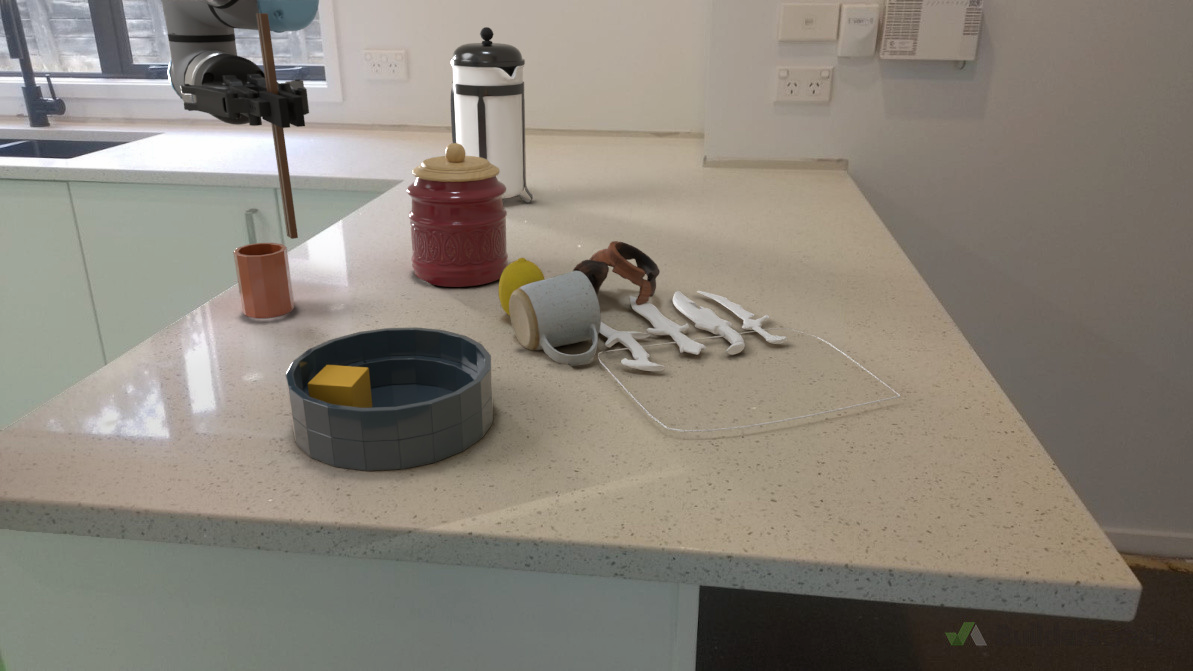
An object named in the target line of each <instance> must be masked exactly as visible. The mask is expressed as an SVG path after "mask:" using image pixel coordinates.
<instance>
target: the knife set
mask: <svg viewBox="0 0 1193 671" xmlns="http://www.w3.org/2000/svg"><path fill="white" fill-rule="evenodd" d="M696 293H698V294H700V295H702V296H705V297H706V298H709V299H711V300H713V301H715V302H717V303H719V304H720V305H721V306H723V307H725V308H726V309H728V310H729V311H731V312H732V313H733V314H734V315H736V317H738V318H739V319H741V320H742V321H743V323H742V326H741V329H742V330H747V331H743V332H738V331H737V330H735V329H734V328H732V326H733V323H732V322H731V321H728V320H726V319H723V318H721V317H719V316H718V315H717V313H716V312H715V310H712V309H711V308H710V307H704V306H698V304H697V302H695V301H693V300H692V299H690V298H689V297H688V296H686V295H685V294H683V293H682V292H681V290H675V291H674V294H673V297H672V303H673V305H674V307H675V308H676V309H677V310H678V311H679V312H680V313H681V314H682V315H684V316H685V317H686V318H688V319H689V320H690V321H692V322H693V323H694V327H695V328H696V329H699V330H702V331H706V332H709V333H711V334H714V336H707V337H701V338H693V339H691V338H690V337H688V336H687V335H685V334H684V333H685V332H686V331H687V330H689V328H690V324H689V323H688V322H686V323H685V324H683V325H682V324H678V323H676V322H675V321H673V320H671V319H669V318H668V317H666V316H664V315H663V314H662V313H661V311H660V310H659V308H657V306H656V305H654V304H653V303H650V302H649V301H648V302H646V303H644V304H641V305H637V304H636V299H637V297H635V296H632V295H630V296H629V303H630V306H631V309H632V310H633V311H634V312H636V313H637V314H638V315H640V316H642V317H643V318H644V319H646V320H647V321H649V323H650V324H651V325H652V327H648V328H647V329H646V330H645V331H646V332H640V331H635V330H633V331H632V330H627V331H626V330H620V331H619V330H617V329H614V328H612V327H610V326H608V325H607V324H606V323H604V322H603V321H601V325H600V330H599V334H600V335H602V336H603V337H605V338H606V341H605V343H604V345H605V347H606V348H612V346H614V345H615V344H617V343H620V344H622V345H623V346H624V348H617V349H610V350H606V351H604V353H608V352H609V353H610V352H618V351H623V350H629V351H630V352H631V355H632V358H633V359H629V358H627V357H624V358H622V359H621V360H620V363H621V364H622V366H625V367H628V368H631V369H634V370H639V371H645V372H662V371H663V370H665V368H666V366H665V365H663V364H659V363H657V362H652V361H650V360H649V357H650V356H651V355H650V354H649V353H648V352H647V351H646V349H645V348H648V347H656V346H663V345H674V344H676V345H677V346H678V347H679V352H680V354H683V353H688V354H692V355H697V356H699V355H700V353H701V351H705V350H706V349H707V346H706V345H705V344H703V343H700V342H697V341H702V340H709V339H710V340H711V339H717V338H723V339H725V340H726V341H727V342H729V343H730V346H728V348H727V349H726V350H725V352H726V353H727V354H728V355H731V356H734V355H736V354H739V353H741V352H742V351H743V350H744V349H745V347H746V343H745V340H744V338H743V336H742V335H743V334H750V333H755V332H756V333H758V334H759V335H760V336H762V337H763V338H764V339H765V341H766V342H767V343H770V344H773V345H775V344H776V345H779V344H782V343H783V344H784V342H786V341H787V340H788V336H782V335H772V334H771V333H769V332H768V331H771V330H785V331H793V332H798V333H803V334H804V332H803V331H800V330H796V329H793V328H788V327H772V328H762V326H763V324H762V323H763V322H765V321H767V320H769V319H770V315H768V314H765V315H764V316H762V317H759V318H755V319H753V317H755V313H752V312H750V311H748V310H746V309H745V308H743V307H742V305H741V304H738V303H735V302H733V301H731V300H729V299H728V298H727V297H726V296H722V295H718V294H715V293H711V292H708V291H703V290H697V291H696ZM698 307H699V308H698ZM651 335H652V336H653V335H654V336H670V337H671V338H672V340H673V341H671V342H664V343H663V342H662V343H656V344H655V343H653V344H647V345H641V344H640V343H639V342H638V341H637V340H636V339H641V340H642V339H646V338H649V337H650V336H651ZM805 335H809V336H811V337H814V338H816V339H818V340H820V341H822V342H823V343H824V344H825V343H826V344H827V345H829V346H830V347H831V348H833V349H835V350H836V351H838V352H839V353H840V354H842V355H844V356H845V357H846V358H848V360H850V361H852V362H853V363H854V364H856V365H857V366H858V367H860V368H861V369H863V370H864V371H865V372H866V373H868V374H869V375H870V376H872V377H873V378H875V379H876V380H877V381H878V382H880V383H881V384H882V385H884V386H885V387H886V388H888V389H889V390H890V391H892V392H893V393H894V394H895V396H891V397H887V398H882V399H878V400H872V401H867V402H863V403H858V404H854V405H849V406H845V407H844V406H843V407H840V408H835V409H829V410H826V411H821V412H816V413H811V414H806V415H800V416H795V417H790V418H785V419H780V420H775V421H774V420H773V421H767V422H761V423H755V424H749V425H741V426H731V427H722V428H721V427H720V428H712V429H679V428H672V427H668V426H666V425H665V424H664V423H662V422H661V421H660V420H659V419H657V418H656V417H654V416H653V415H652V414H651V412H649V411H648V410H647V409H646V408H645V407H644V405H642V404H641V403H640V402H639V400H638V399H636V397H635V396H634V395H633V394H632V393H631V392H630V391H629V390H628V389H627V388H626V386H624V385H623V383H622V382H620V380H619V379H618V378H617V377H616V376H615V375H614V374H613V372H612V371H611V370H610V369H609V368H608V367H607V366H606V364H604V362H603V361H602V360H601V359H600V354H602V353H603V351H599V352H598V354H597V359H598V361H599V363H600V364H601V365H602V367H603V368H604V369H605V370H606V371H607V372H608V373H609V374H610V375H611V377H613V378H614V380H615V381H616V382H617V383H618V384H619V385H620V387H622V388H623V390H624V391H625V392H626V393H627V394H628V395H629V397H631V399H632V400H634V402H636V404H638V406H640V408H641V409H642V410H643V412H645V413H646V414H647V415H648V416H649V417H650V418H651V419H652V420H654V421H655V422H656V423H657V424H659V425H660V426H662V427H664V428H665V429H666V430H669V431H674V432H680V433H705V432H707V433H708V432H720V431H729V430H739V429H747V428H753V427H761V426H766V425H772V424H779V423H784V422H789V421H794V420H799V419H805V418H810V417H815V416H819V415H824V414H828V413H833V412H834V413H835V412H838V411H843V410H848V409H853V408H857V407H862V406H867V405H871V404H875V403H876V404H877V403H880V402H881V403H882V402H886V401H889V400H894V399H899V398H901V394H899V393H898V392H897V391H896V390H894V389H893V388H892V387H890V386H889V385H888V384H886V383H885V382H884V381H883V380H881V379H880V378H878V377H877V376H876V375H875V374H873V373H872V372H871V371H869V370H868V369H867V368H865V367H864V366H863V365H861V364H860V363H859V362H857V361H855V360H854V359H853V358H851V357H850V356H849V355H848V354H846V353H844V352H843V351H841V349H839V348H837V347H836V346H835V345H833V344H832V343H830V342H828V341H826V340H825V339H823V338H820V337H818V336H816V335H813V334H810V333H807V332H805Z"/></svg>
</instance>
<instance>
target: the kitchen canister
mask: <svg viewBox="0 0 1193 671" xmlns="http://www.w3.org/2000/svg"><path fill="white" fill-rule="evenodd" d="M465 155H466V153H465V149H464V147H463V146H462V145H461V144H458V143H453V142H452V143H449V144H448V145H447V146H446V147H445V151H444V155H442V156H433V157H429V158H426V159H424V160H423V161H422V162H421V163H420V164H419V165H417V166H416V167H414V168H413V169H412V170H411V174H412V175H413V176H414V177H415V178H414V179H415V180H414V182H412V183H411V184H409V185H408V186H407V188H406V194H408V196H410V197H411V209H410V210H409V212H408V218H409V221H410V237H411V253H412V255H411V268H412V269H413V272H414V273H413V274H414V275H415V277H417V278H419V280H423V281H425V282H427V283H428V284H430V285H432V286H438V287H447V288H465V287H474V286H475V287H476V286H481V285H485V284H490V283H494V282H496V281H498V280H500V277H501V275H502V272H503V271H504V269H505V268H506V267H507V266H508V265H509V260H508V259H509V253H508V250H507V220H506V219H507V215H508V211H507V210H506V208H505V207H504V199H502V196H503V194H504V193H505V192H506V186H505V185H504V184H503V183H501V182H500V181H498V179H497V177H496V175H498V174H499V172H500V170H499V168H498V167H496V166H494V165H492V164H491V163H489V161H488V160H487V159H484V158H481V157H475V156H465Z"/></svg>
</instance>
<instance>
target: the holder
mask: <svg viewBox="0 0 1193 671" xmlns="http://www.w3.org/2000/svg"><path fill="white" fill-rule="evenodd" d="M287 248H288V247H287V246H285V244H283V243H277V242H256V243H248V244H244V245H242V246H239V247H236V248H235V249H234V250H233V252H232V253H233V254H232V255H233V259H234V265H235V272H236V273H235V274H236V278H237V284H238V285H237V286H238V292H239V298H240V303H241V311H242V313H243V315H244V316H246V317H248V318H252V319H270V318H271V319H272V318H277V317H281V316H284V315H287V314H289V313H291V312H292V311H293V310H294V308H295V301H294V292H293V285H292V277H291V270H290V263H289V255H288V254H289V253H288V249H287Z"/></svg>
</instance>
